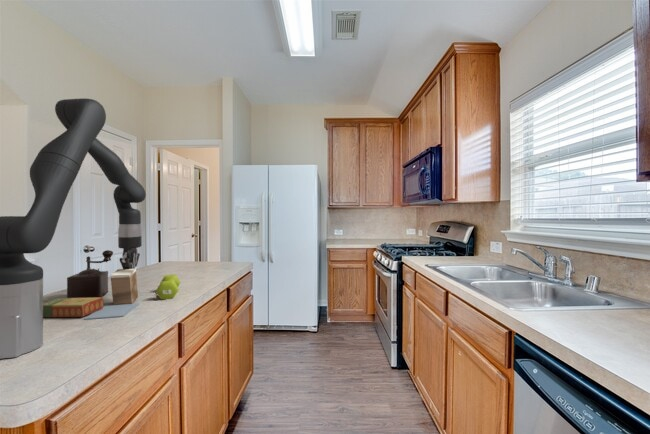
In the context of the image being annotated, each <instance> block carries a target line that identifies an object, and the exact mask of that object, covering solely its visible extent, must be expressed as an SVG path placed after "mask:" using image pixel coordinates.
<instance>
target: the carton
mask: <svg viewBox="0 0 650 434" xmlns="http://www.w3.org/2000/svg"><path fill="white" fill-rule="evenodd" d="M103 298H104V296H103V297H90V298H67V297H58V298H55V299H52V300H49V301H46V302H43V318H70V317H71V318H74V317H75V318H80V317H83V318H84V317H86V316H89V315H90V314H92V313H94V312H95V311H98V310H100V309H102V308H103V306H104V299H103Z"/></svg>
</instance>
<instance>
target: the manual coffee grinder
mask: <svg viewBox="0 0 650 434" xmlns="http://www.w3.org/2000/svg"><path fill="white" fill-rule="evenodd" d="M101 255H102V256H103V259H102V260H91V256H86V258H85V259H86V261H85V262H86V269H84V270H82V271H80V272H78V273H75V274H73V275H70V276H68V277H67V278H66V285H67V286H66V298H90V297H103V298H104V296H106V295H107V294H108V292H109V271H108V270H104V271H103V270H100V268H97V269H95V268H91V264H102V263H108V262H111V261H112V259H111V257H112V256H113V255H114V251H113V250H108V249H107V250H104V251H103V252H102V254H101Z"/></svg>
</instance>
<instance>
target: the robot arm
mask: <svg viewBox="0 0 650 434" xmlns="http://www.w3.org/2000/svg"><path fill="white" fill-rule="evenodd" d="M54 111H55V114H56V117H57V119H58V121H59V122H60V123H61V125H62V126H63V127H64V128H65V129H66V130H65V131H64V132H62V133H61V134H59V135H58V136H57V137H55V138H54V139H52V140H51V141H50V142H48V143H47V144H45V145H44V146H43V147H42V148H41V149H40V150H39V151H38V153H37V155H36V156H35V158H34V160H33V162H32V164H31V166H30V167H29V178H30V182H31V185H32V187H33V190H34V193H35V195H34V200H33V203H32V205H31V206H30V209H29V210H28V212H27V214H26V215H23V216H22V215H21V216H20V215H19V216H17V215H16V216H15V215H9V216H8V215H7V216H6V215H5V216H3V215H2V216H0V360H1V359H9V358H11V359H12V358H17V357H19V356H21V355H25V354H27V353H30V352H33V351H35V350H37V349H39V348H41V347H42V346H43V344H44V317H43V303H44V269H43V267H41V266H40V265H37V264H34V263H32V262H30V261H28V260H27V259H26V257H25V254H37V253H40V252H42V251H44V250H46V248H48V246H49V244H51V242H52V240H53V237H54V235H55V232H56V229H57V225H58V223H59V220H60V217H61V213H62V210H63V207H64V205H65V202H66V200H67V197H68V196H69V195H68V194H69V193H70V190H71V188H72V186H73V185H74V182H75V180H76V178H77V176H78V174H79V172H80V170H81V167H82V165H83V162H84V160H85V158H86V156H87V154H89V156H90V157H92V158H93V160H94V161H95V162H96V164H97V166H98V167H99V168H100V170H101V171H102V172H103V174H104V175H105V177H106V178H107V180H108V182H110V183H111V184H113V185H116V187H115V188H114V190H113V193H112V194H113V200H114V203H115V206H116V210H117V211H118V229H117V230H118V231H117V232H118V234H117V237H118V238H117V239H118V240H117V241H118V242H117V243H118V249H122V253H121V254H122V257H120V258H119V263H120V265H121V268H122V269H136V267H138V264H139V263H138V262H139V260H140V259H139V258H140V255H141V254H140V253H139V252H138V249H137V248H141V247H142V245H143V244H142V241H143V240H142V236H143V235H142V224H141V223H142V219H141V218H142V215H141V211H140V210H139V209H137V208H134V207H133V206H132V205H131V204H138V203H142V202H143V201H144V200H145V199H146V195H147V194H146V190H145V188H144V186H143V185H142V184H141V183H140V182H139V181H138V180H137V179H136V178H135V177H134V176H133V175H132V174H131V173H130V172H129V170H128V169H127V167H126V165H125V163H124V162H123V160H122V159H121V158H120V156H119V155H118V154H117V153H115V152H114V151H113V150H111V149H110V148H109V147H108V146H107V145H105V144H104V143H103V142H101V141H100V140H99V139H98V138H97V137H98V135H99V134H100V132H101V131H102V130H103V127H104V126H105V124H106V119H107V114H106V110H105V108H104V106H103V105H102V104H101V103H100V102H99V101H98V100H95V99H92V98H87V97H86V98H70V99H69V98H68V99H60V100H59V101H57V102H56V104H55V106H54Z"/></svg>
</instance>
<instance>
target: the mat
mask: <svg viewBox="0 0 650 434" xmlns="http://www.w3.org/2000/svg"><path fill="white" fill-rule="evenodd" d="M138 306H139V303H133V304H123V305H113V304H110V305H103V308H102V309H100V310H98V311H95V312H93V313H90V314H88V315H86V316H85V317H83V320H85V321H86V320H87V321H88V320H97V319H98V320H99V319H111V318H113V319H114V318H123V317H125V316H127V315H128V314H129V313H130V312H131V311H133V310H134V309H136V307H138Z"/></svg>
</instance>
